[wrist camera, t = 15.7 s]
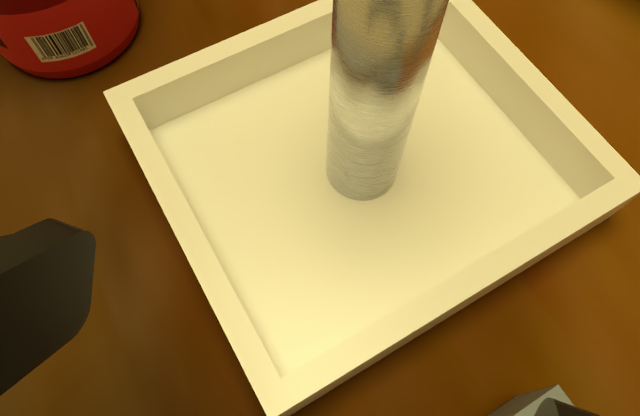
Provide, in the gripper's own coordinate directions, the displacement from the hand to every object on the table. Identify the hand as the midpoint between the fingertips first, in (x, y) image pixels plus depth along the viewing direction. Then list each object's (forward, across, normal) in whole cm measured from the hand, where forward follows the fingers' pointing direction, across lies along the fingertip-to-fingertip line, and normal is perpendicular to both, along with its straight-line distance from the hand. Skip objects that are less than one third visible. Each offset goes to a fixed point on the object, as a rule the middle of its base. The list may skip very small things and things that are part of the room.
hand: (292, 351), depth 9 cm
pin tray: (+17, +1, +2) cm, 17 cm away
